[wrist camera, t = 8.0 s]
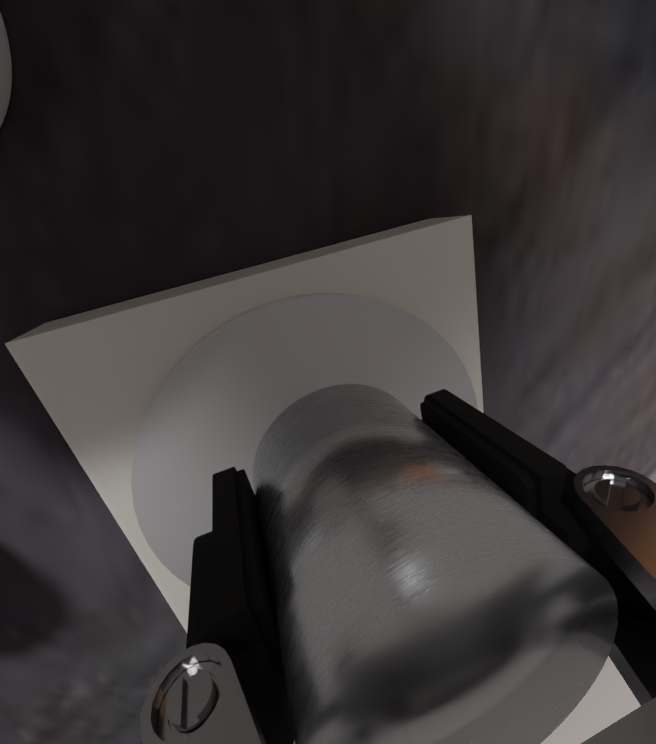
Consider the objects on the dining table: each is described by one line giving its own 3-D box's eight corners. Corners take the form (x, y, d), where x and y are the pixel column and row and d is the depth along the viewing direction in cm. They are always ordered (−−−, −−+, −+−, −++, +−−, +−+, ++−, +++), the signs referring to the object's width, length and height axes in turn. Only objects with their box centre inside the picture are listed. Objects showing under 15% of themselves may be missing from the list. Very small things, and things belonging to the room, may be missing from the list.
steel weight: (226, 421, 9) (245, 691, 4) (405, 359, 10) (635, 500, 5) (281, 559, 11) (347, 868, 6) (427, 497, 12) (605, 711, 6)
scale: (46, 322, 13) (-15, 353, 10) (428, 218, 16) (489, 213, 13) (238, 662, 22) (243, 743, 19) (464, 555, 25) (506, 608, 21)
